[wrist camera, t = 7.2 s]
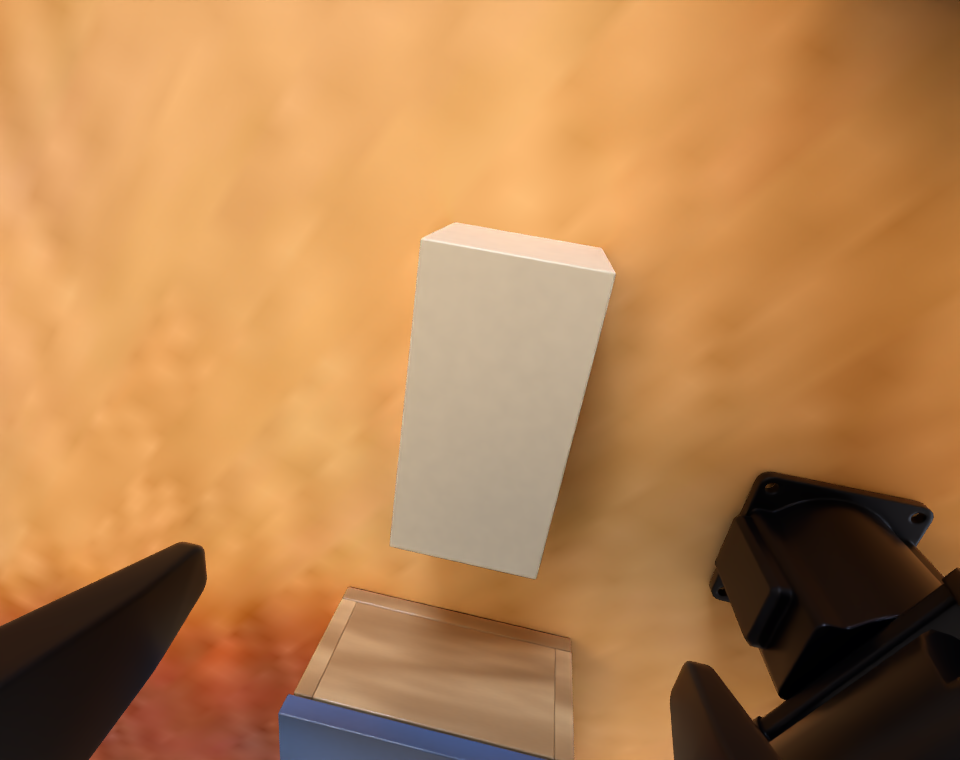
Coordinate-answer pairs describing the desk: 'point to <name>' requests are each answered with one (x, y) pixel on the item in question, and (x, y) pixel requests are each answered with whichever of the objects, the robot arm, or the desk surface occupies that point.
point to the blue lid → (369, 737)
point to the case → (494, 392)
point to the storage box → (446, 674)
